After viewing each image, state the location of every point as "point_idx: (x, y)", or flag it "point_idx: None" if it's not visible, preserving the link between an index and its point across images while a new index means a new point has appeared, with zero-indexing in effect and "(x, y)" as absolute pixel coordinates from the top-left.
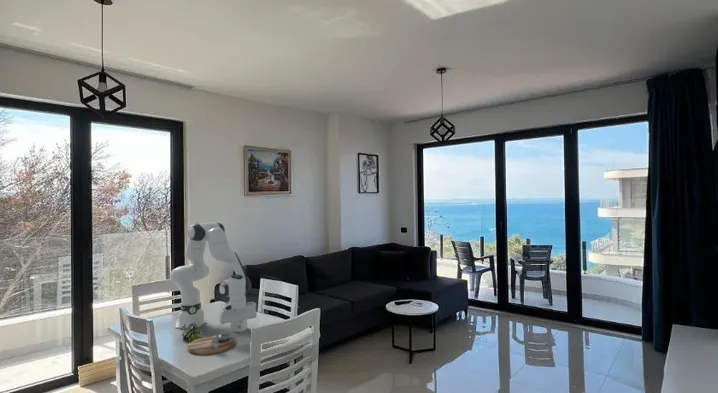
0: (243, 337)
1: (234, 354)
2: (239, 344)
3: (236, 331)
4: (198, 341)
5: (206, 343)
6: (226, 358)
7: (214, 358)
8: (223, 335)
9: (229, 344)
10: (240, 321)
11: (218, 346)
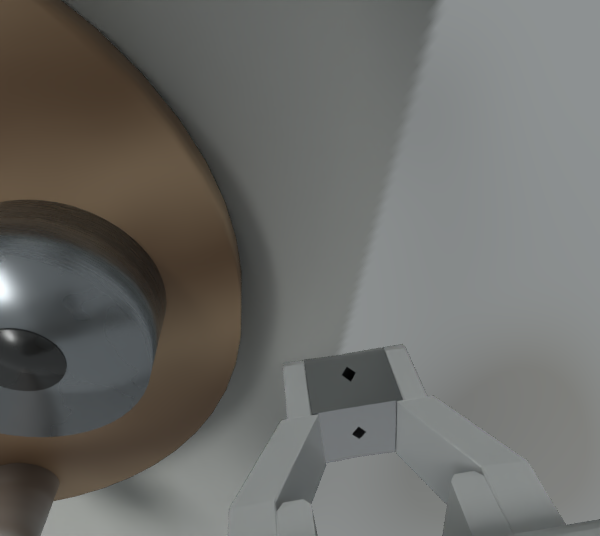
0: (412, 55)
1: (227, 484)
2: (298, 312)
3: None
4: None
5: None
6: (165, 519)
7: (65, 506)
8: (45, 386)
9: (176, 436)
10: (449, 515)
11: (48, 452)
